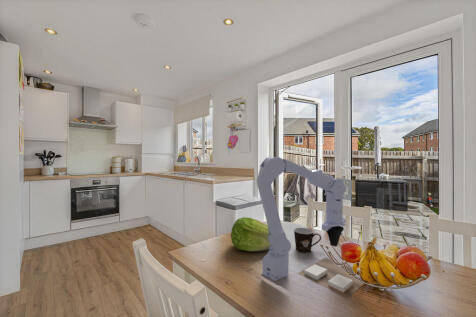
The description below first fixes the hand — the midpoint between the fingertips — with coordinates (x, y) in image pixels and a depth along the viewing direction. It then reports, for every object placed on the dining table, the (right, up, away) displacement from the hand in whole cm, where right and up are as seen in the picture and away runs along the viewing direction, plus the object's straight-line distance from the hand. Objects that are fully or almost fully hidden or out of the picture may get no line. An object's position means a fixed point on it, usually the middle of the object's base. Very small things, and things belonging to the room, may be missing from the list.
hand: (333, 245), depth 82 cm
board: (-1, -10, -3) cm, 11 cm away
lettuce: (-28, -10, +21) cm, 37 cm away
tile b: (0, -9, -8) cm, 12 cm away
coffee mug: (-5, -11, +17) cm, 20 cm away
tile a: (-5, -8, -1) cm, 10 cm away
